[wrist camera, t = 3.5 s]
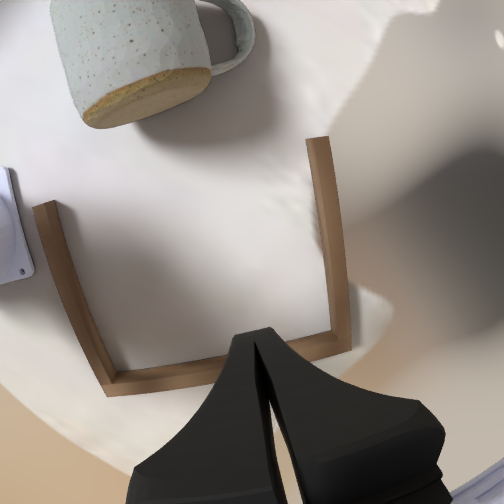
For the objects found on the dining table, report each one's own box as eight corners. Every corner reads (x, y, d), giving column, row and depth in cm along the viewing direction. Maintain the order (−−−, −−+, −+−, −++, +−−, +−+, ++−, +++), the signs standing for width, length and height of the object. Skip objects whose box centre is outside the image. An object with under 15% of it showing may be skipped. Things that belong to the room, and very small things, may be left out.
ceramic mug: (107, 141, 18) (53, 133, 10) (77, 36, 15) (26, -10, 8) (270, 83, 18) (305, 41, 11) (229, -18, 16) (242, -87, 8)
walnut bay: (111, 385, 22) (107, 397, 21) (43, 203, 18) (32, 207, 17) (344, 339, 23) (351, 349, 22) (320, 137, 19) (328, 136, 18)
